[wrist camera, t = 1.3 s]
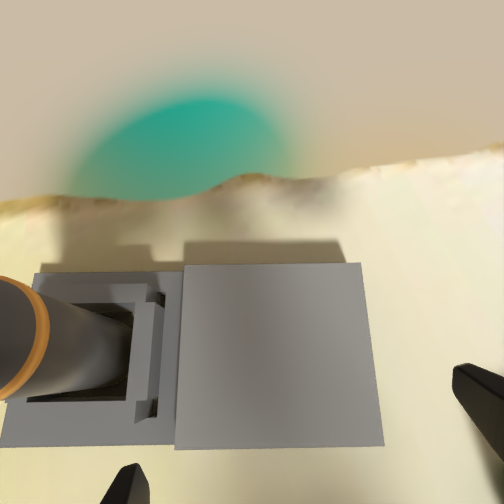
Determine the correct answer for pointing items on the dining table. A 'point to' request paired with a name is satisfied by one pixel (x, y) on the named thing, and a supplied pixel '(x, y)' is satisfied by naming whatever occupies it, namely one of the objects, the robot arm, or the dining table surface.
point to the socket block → (221, 361)
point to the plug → (56, 345)
